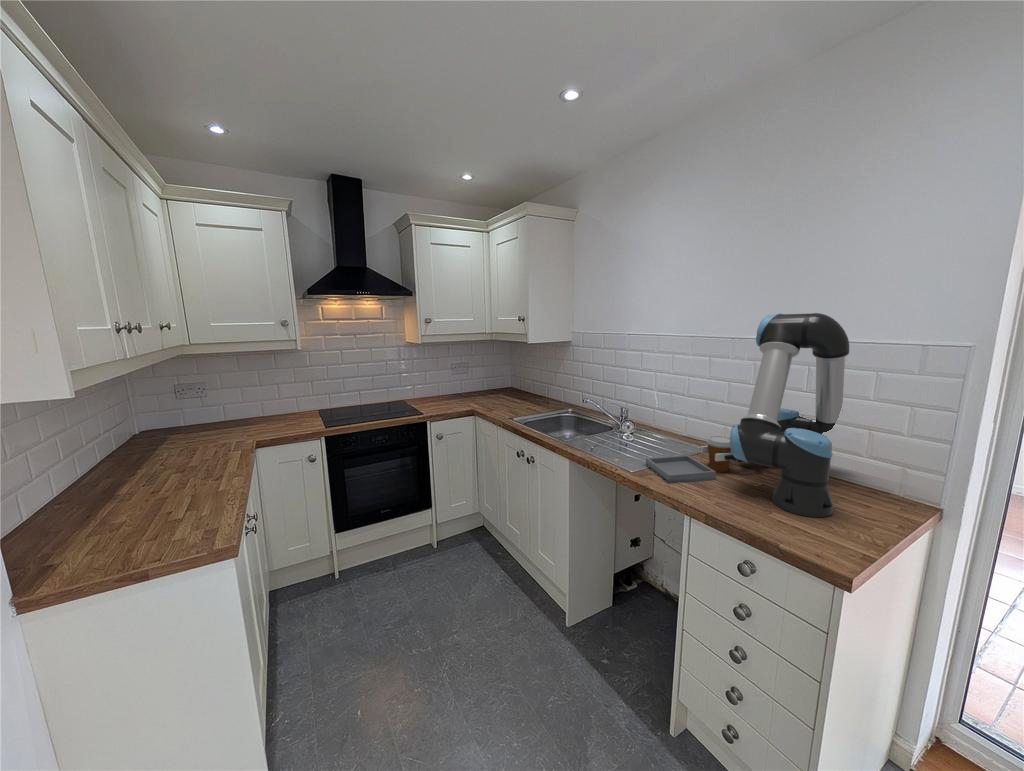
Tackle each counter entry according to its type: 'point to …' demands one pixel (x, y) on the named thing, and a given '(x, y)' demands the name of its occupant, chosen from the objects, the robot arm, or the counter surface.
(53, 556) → the counter surface
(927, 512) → the counter surface
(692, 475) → the tray
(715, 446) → the disposable coffee cup
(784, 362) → the robot arm
